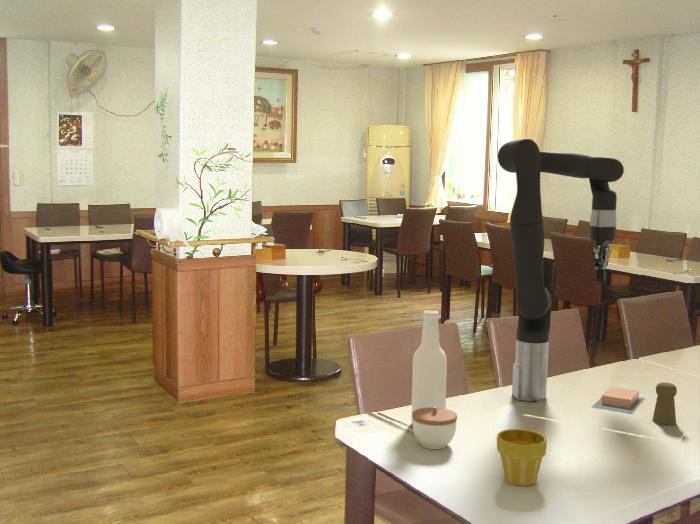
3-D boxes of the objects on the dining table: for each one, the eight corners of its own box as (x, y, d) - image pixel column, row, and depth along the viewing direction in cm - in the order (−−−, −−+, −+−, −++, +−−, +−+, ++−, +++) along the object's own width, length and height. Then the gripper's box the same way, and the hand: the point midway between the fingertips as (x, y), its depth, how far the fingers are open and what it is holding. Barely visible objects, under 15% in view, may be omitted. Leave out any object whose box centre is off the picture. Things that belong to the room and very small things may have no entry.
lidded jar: (403, 440, 191) (404, 403, 190) (441, 435, 195) (442, 398, 194) (425, 455, 181) (426, 416, 180) (464, 449, 186) (465, 411, 184)
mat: (631, 415, 213) (631, 413, 213) (591, 408, 219) (591, 407, 219) (645, 399, 228) (645, 398, 228) (606, 393, 234) (606, 392, 234)
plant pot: (500, 489, 162) (502, 444, 161) (491, 470, 173) (493, 427, 171) (550, 490, 162) (552, 445, 161) (538, 471, 173) (540, 428, 171)
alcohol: (407, 427, 201) (409, 313, 197) (416, 417, 209) (418, 307, 205) (440, 432, 198) (443, 315, 194) (448, 421, 206) (451, 309, 202)
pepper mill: (678, 428, 203) (681, 387, 202) (654, 426, 204) (656, 385, 203) (673, 421, 209) (676, 381, 208) (650, 419, 210) (652, 379, 209)
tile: (630, 399, 218) (639, 390, 227) (601, 395, 222) (610, 386, 232) (630, 408, 218) (638, 398, 228) (601, 403, 222) (610, 394, 232)
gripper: (596, 223, 244) (593, 277, 246) (584, 225, 233) (582, 282, 235) (620, 224, 240) (617, 279, 242) (610, 226, 229) (607, 284, 231)
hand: (600, 281), depth 239 cm, fingers closed
